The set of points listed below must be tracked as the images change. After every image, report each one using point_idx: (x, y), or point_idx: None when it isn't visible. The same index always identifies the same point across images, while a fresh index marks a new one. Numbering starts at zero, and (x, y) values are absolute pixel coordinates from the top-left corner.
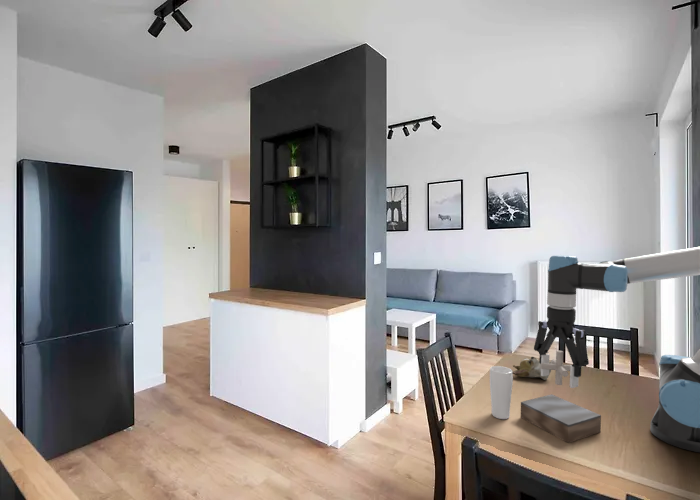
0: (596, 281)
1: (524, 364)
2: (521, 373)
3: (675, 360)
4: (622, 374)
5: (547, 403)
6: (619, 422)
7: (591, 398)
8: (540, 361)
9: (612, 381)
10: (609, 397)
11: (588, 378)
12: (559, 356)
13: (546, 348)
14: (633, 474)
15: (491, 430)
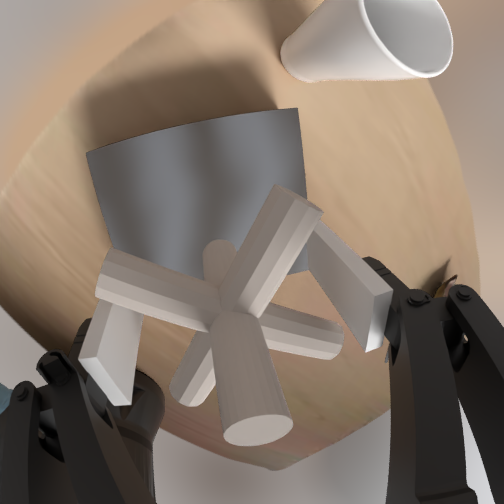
0: None
1: None
2: (441, 293)
3: None
4: (340, 437)
5: (255, 200)
6: (185, 350)
7: (301, 368)
8: (374, 266)
9: (333, 422)
10: (289, 395)
11: (361, 399)
12: (227, 383)
13: (401, 368)
14: None
15: None
